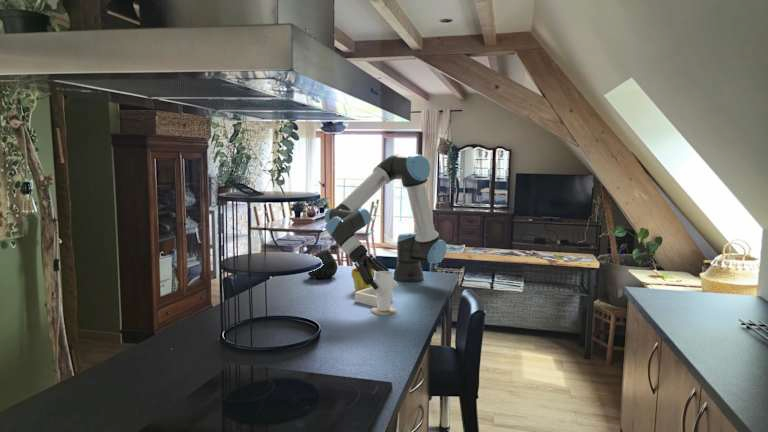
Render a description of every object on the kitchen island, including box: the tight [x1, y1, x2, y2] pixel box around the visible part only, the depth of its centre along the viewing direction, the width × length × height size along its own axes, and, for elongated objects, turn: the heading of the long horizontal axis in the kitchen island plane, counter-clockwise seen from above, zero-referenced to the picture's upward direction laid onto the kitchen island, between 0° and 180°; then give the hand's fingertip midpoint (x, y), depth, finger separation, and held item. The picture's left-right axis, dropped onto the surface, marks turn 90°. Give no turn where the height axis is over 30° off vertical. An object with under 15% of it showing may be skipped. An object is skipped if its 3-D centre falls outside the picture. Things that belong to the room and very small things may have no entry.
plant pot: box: [351, 267, 375, 292], centre depth 231 cm, size 10×10×10 cm
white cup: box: [374, 270, 394, 311], centre depth 200 cm, size 7×7×15 cm
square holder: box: [354, 286, 393, 307], centre depth 215 cm, size 11×11×4 cm
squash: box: [307, 249, 338, 279], centre depth 255 cm, size 14×15×15 cm
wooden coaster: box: [370, 306, 397, 316], centre depth 201 cm, size 10×10×1 cm
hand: (389, 290), depth 199 cm, fingers open, 12 cm apart
